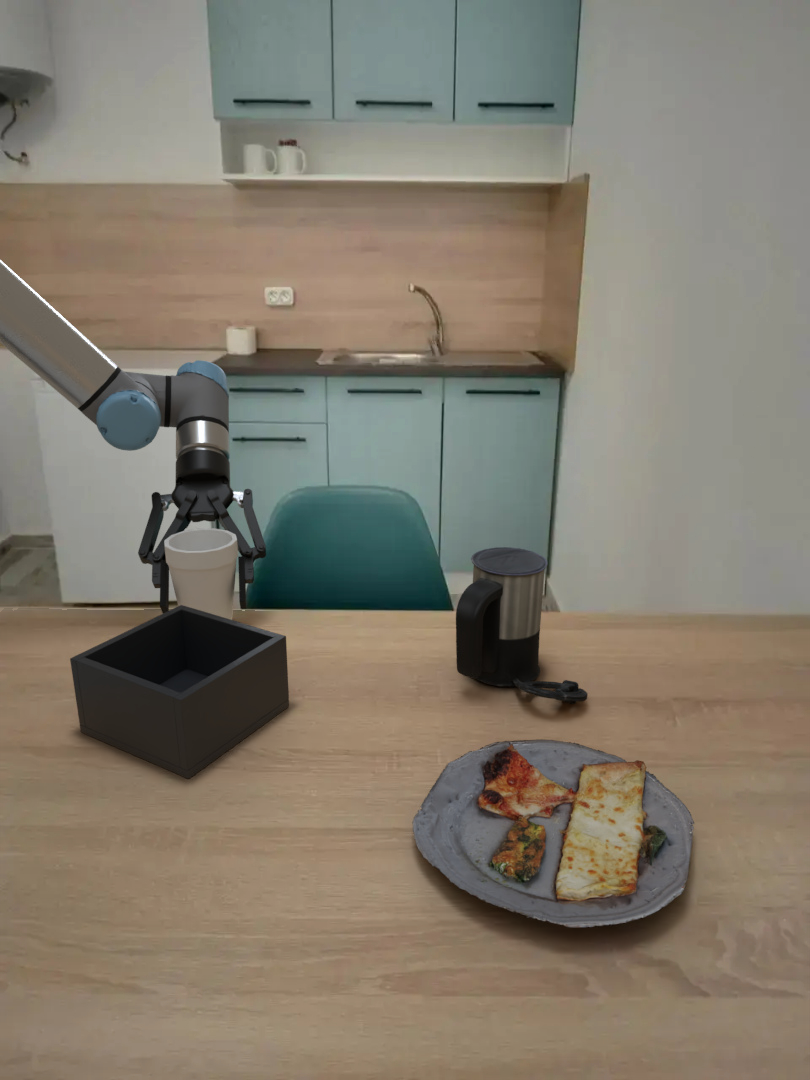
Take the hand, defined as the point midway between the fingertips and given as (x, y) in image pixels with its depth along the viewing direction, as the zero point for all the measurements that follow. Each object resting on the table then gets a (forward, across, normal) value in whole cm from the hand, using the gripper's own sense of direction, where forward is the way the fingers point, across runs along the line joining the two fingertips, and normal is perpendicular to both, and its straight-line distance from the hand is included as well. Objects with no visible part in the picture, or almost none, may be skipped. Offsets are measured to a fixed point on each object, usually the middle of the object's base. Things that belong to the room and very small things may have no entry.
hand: (203, 607), depth 109 cm
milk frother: (+16, -39, +9) cm, 43 cm away
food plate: (+35, -33, +28) cm, 56 cm away
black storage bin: (+17, +1, +11) cm, 20 cm away
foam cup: (+1, 0, -6) cm, 6 cm away
